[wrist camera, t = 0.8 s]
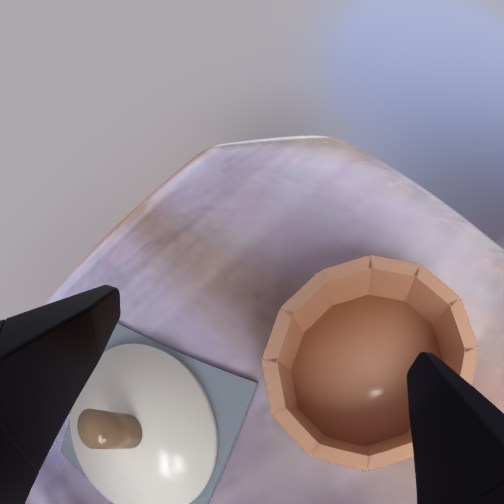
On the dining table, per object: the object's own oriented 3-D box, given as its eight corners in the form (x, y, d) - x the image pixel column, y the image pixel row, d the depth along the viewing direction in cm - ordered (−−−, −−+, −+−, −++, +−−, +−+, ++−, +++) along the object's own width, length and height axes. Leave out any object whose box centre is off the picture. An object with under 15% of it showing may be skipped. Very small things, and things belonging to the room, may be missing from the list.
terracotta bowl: (421, 466, 16) (441, 481, 11) (260, 426, 22) (234, 430, 17) (460, 304, 21) (483, 275, 16) (312, 276, 27) (301, 243, 22)
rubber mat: (188, 547, 17) (185, 549, 16) (63, 451, 25) (60, 451, 24) (258, 383, 24) (256, 382, 23) (111, 319, 32) (108, 318, 32)
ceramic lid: (182, 543, 17) (143, 563, 12) (63, 451, 24) (23, 447, 19) (249, 386, 24) (219, 378, 18) (109, 323, 31) (70, 303, 26)
